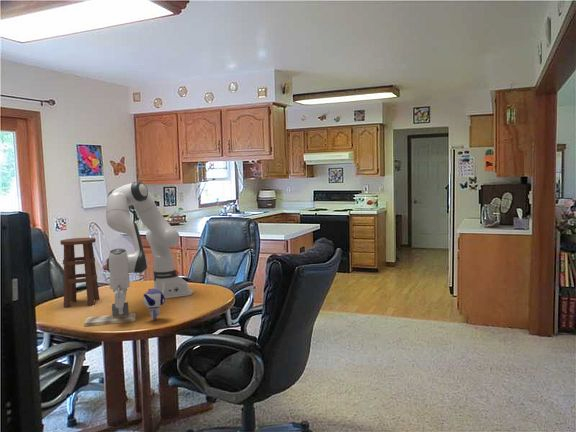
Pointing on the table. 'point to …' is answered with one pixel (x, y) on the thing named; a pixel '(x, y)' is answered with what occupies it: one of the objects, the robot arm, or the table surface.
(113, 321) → the board
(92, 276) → the stool
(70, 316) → the table surface
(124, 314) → the block
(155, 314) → the toy
